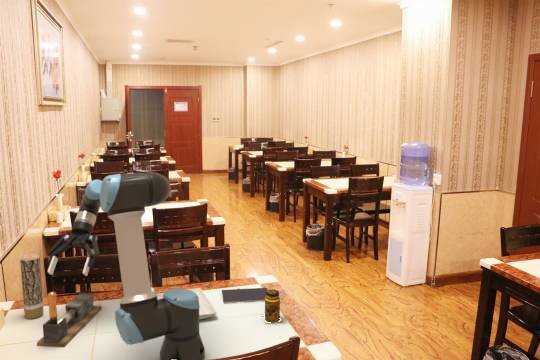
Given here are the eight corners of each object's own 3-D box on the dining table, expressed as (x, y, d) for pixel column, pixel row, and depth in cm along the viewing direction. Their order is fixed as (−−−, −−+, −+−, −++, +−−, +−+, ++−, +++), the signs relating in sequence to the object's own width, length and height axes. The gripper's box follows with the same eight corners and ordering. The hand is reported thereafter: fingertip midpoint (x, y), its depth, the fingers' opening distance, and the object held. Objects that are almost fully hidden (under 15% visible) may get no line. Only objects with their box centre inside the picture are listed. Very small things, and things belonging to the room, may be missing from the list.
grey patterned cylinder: (35, 320, 176) (31, 260, 172) (20, 318, 177) (16, 258, 173) (47, 312, 183) (43, 254, 179) (32, 311, 184) (28, 253, 180)
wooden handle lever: (72, 313, 175) (70, 275, 173) (80, 313, 175) (78, 275, 173) (47, 335, 158) (45, 293, 156) (56, 335, 158) (53, 294, 155)
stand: (78, 307, 188) (77, 290, 186) (101, 308, 187) (101, 291, 186) (37, 345, 158) (35, 325, 156) (64, 347, 157) (63, 326, 156)
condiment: (266, 324, 176) (266, 296, 174) (260, 315, 184) (260, 287, 182) (283, 322, 178) (284, 294, 176) (277, 313, 186) (277, 285, 184)
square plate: (138, 304, 193) (138, 295, 192) (200, 294, 204) (200, 286, 203) (148, 333, 168) (147, 323, 168) (217, 320, 179) (217, 311, 178)
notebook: (266, 290, 210) (221, 293, 206) (266, 287, 209) (221, 289, 206) (271, 302, 197) (223, 304, 194) (271, 298, 197) (223, 301, 193)
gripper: (116, 230, 182) (102, 278, 170) (58, 228, 183) (39, 276, 171) (110, 220, 176) (95, 270, 164) (50, 219, 177) (30, 268, 165)
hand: (67, 273), depth 167 cm, fingers open, 13 cm apart
